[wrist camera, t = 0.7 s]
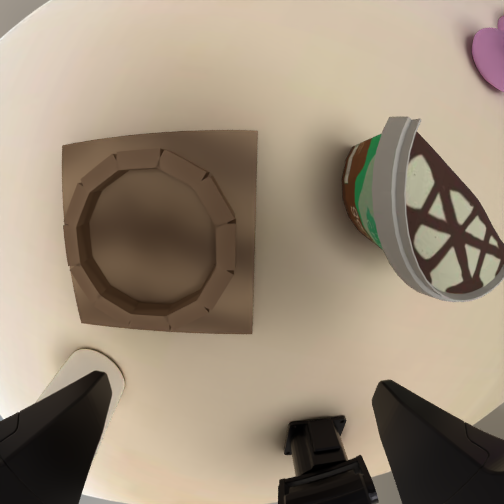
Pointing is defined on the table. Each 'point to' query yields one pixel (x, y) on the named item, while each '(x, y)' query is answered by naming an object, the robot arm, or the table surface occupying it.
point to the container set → (490, 54)
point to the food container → (421, 215)
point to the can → (81, 366)
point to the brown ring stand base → (163, 230)
